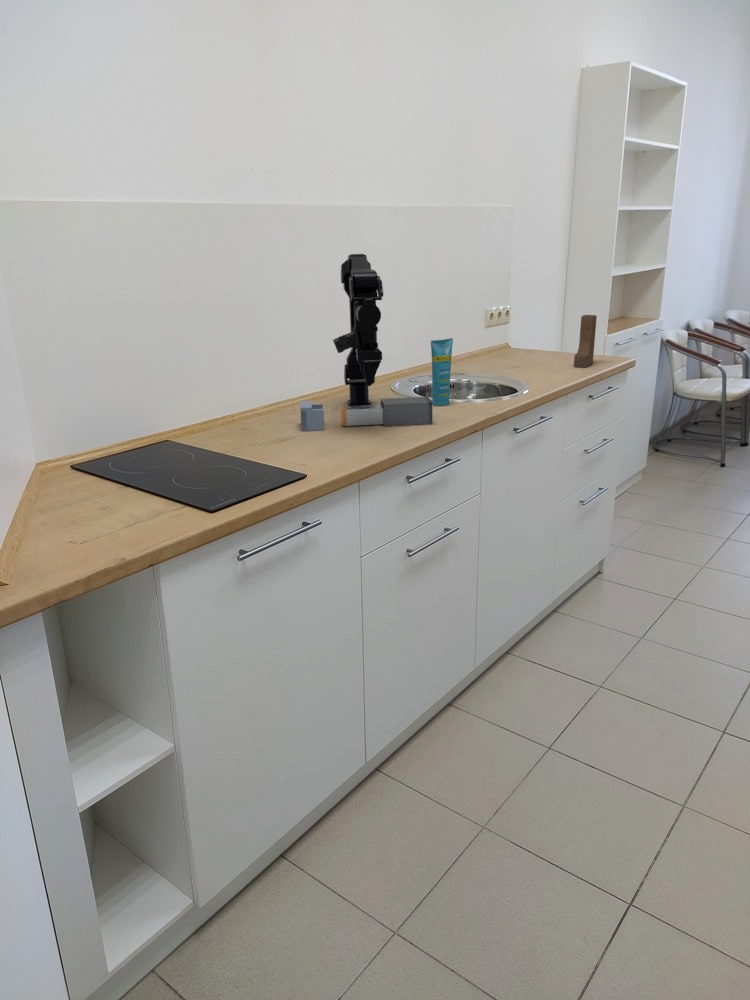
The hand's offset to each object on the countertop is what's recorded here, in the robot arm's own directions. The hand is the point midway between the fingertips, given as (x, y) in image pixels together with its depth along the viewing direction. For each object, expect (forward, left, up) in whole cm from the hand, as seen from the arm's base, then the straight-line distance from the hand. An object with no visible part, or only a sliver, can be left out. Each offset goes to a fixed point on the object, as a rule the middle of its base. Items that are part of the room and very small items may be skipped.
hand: (367, 382), depth 195 cm
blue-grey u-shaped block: (0, -15, -11) cm, 19 cm away
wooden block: (-70, +88, -12) cm, 113 cm away
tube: (-19, +24, -12) cm, 33 cm away
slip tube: (0, +4, -11) cm, 12 cm away
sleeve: (0, +10, -11) cm, 15 cm away
